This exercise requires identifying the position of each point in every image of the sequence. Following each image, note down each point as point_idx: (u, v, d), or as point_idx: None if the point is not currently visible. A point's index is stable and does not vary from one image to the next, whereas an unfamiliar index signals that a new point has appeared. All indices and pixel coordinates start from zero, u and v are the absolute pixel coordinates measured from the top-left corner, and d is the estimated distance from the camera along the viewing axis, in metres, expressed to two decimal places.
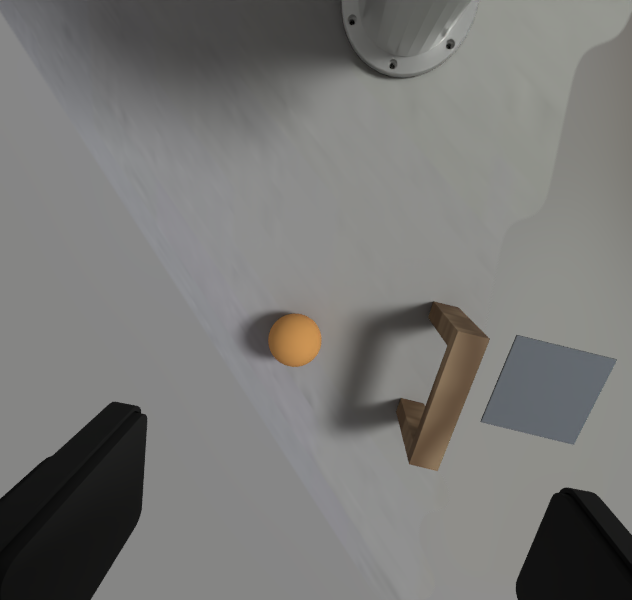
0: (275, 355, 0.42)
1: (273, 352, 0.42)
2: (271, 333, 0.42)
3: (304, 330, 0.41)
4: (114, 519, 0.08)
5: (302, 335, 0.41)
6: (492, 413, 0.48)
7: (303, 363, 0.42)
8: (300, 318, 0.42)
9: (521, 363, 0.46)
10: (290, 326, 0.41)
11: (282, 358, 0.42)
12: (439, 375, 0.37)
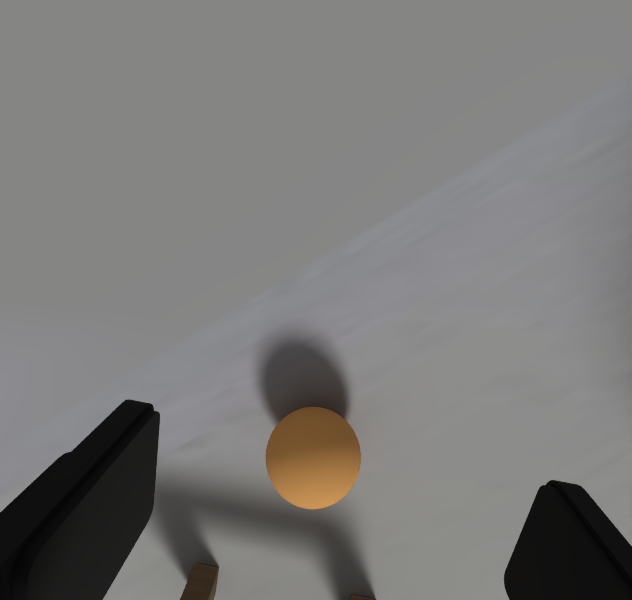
0: (290, 449, 0.22)
1: (295, 445, 0.22)
2: (328, 432, 0.22)
3: (343, 494, 0.23)
4: (129, 514, 0.08)
5: (336, 498, 0.22)
6: None
7: (279, 493, 0.23)
8: (358, 472, 0.24)
9: None
10: (349, 473, 0.22)
11: (287, 466, 0.22)
12: None
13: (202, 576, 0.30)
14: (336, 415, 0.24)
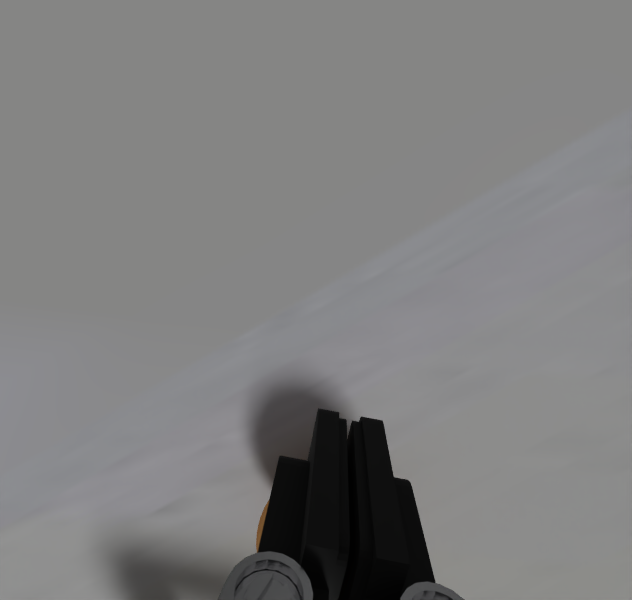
0: None
1: None
2: None
3: None
4: None
5: None
6: None
7: None
8: None
9: None
10: None
11: None
12: None
13: None
14: None
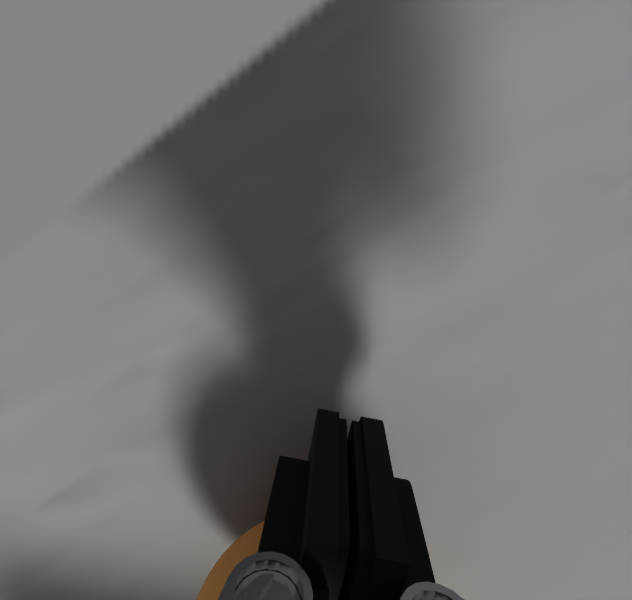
0: None
1: None
2: None
3: None
4: None
5: None
6: None
7: None
8: None
9: None
10: None
11: None
12: None
13: None
14: None
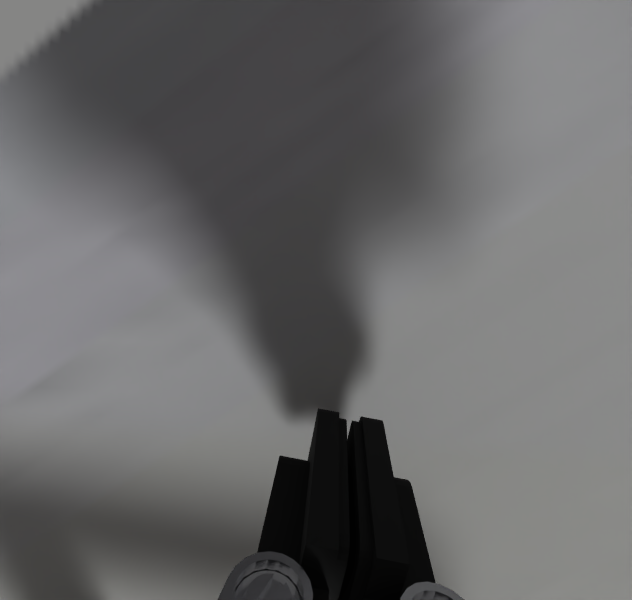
0: None
1: None
2: None
3: None
4: None
5: None
6: None
7: None
8: None
9: None
10: None
11: None
12: None
13: None
14: None
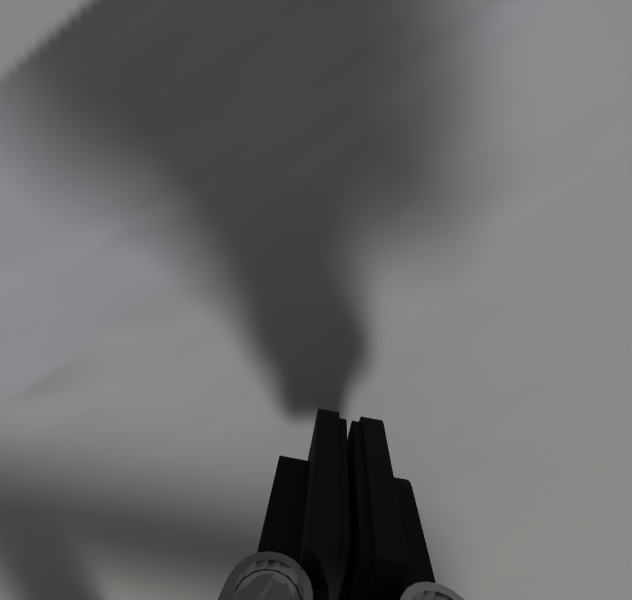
0: None
1: None
2: None
3: None
4: None
5: None
6: None
7: None
8: None
9: None
10: None
11: None
12: None
13: None
14: None
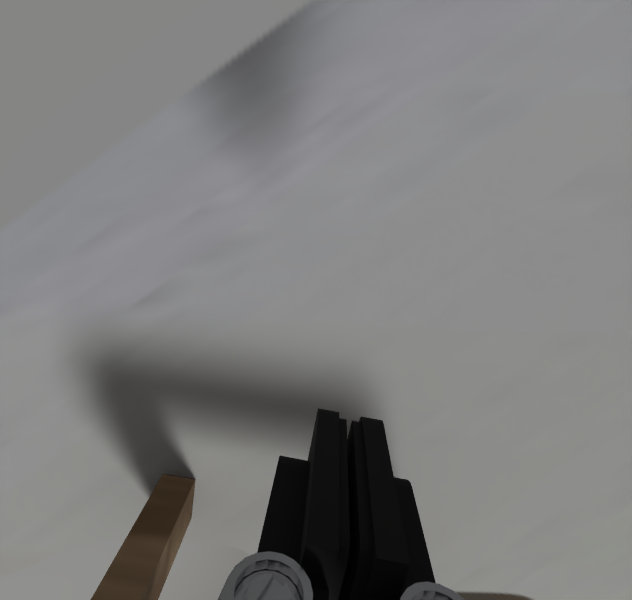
0: None
1: None
2: None
3: None
4: None
5: None
6: None
7: None
8: None
9: None
10: None
11: None
12: None
13: (172, 488, 0.23)
14: None
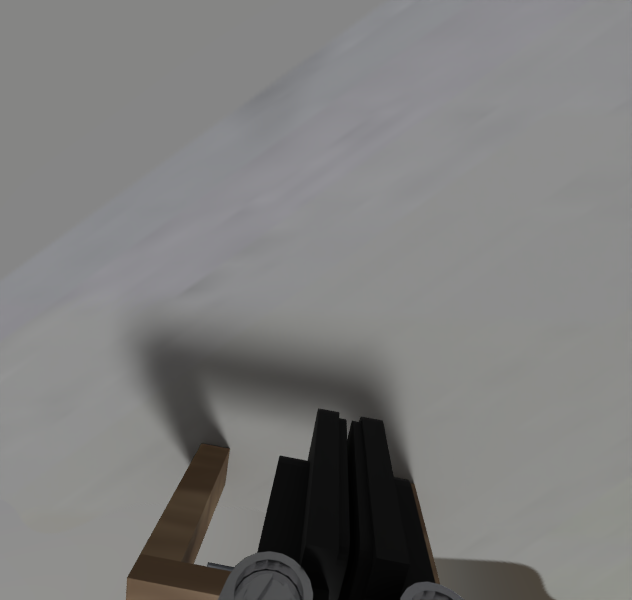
0: None
1: None
2: None
3: None
4: None
5: None
6: None
7: None
8: None
9: None
10: None
11: None
12: None
13: (210, 455, 0.26)
14: None
